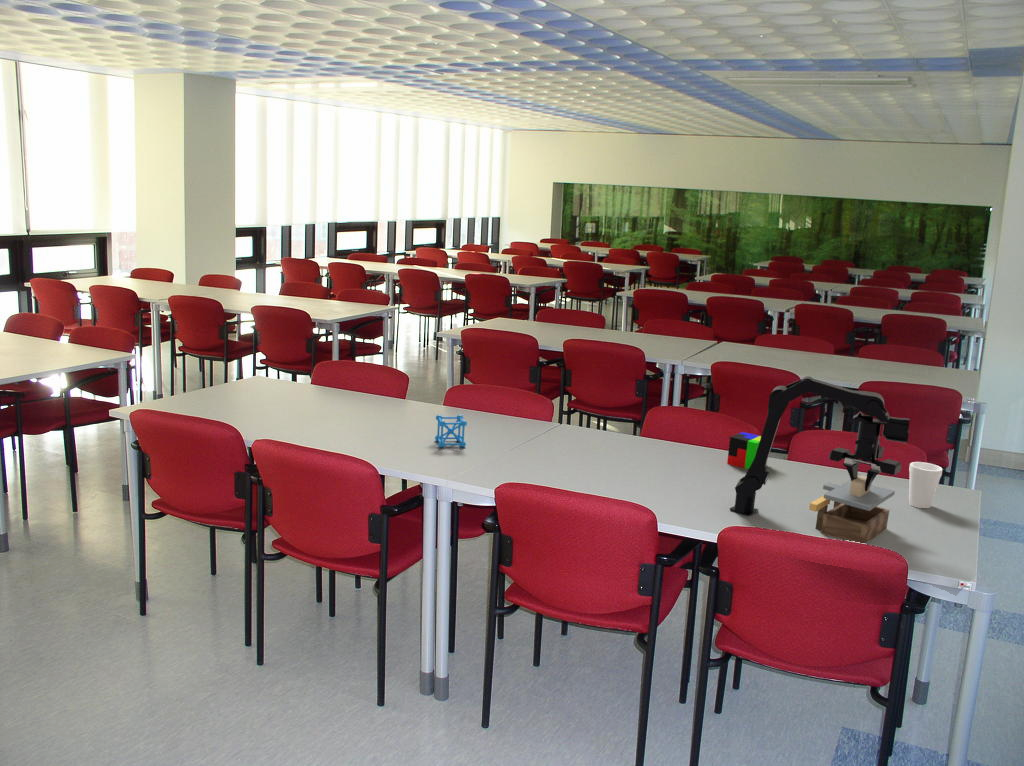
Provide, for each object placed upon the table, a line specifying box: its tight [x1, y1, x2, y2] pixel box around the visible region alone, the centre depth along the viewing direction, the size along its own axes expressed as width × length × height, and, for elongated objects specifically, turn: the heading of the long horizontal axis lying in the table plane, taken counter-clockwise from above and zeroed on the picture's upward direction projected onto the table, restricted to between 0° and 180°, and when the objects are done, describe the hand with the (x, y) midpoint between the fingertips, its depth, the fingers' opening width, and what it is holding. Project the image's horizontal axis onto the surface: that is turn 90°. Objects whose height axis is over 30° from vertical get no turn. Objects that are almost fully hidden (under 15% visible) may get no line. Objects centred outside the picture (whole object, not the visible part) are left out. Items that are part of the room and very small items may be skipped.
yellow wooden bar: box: [808, 495, 831, 512], centre depth 259 cm, size 10×2×2 cm, turn 139°
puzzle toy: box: [726, 431, 762, 470], centre depth 320 cm, size 10×10×10 cm
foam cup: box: [908, 461, 943, 509], centre depth 287 cm, size 10×9×13 cm
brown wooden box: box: [815, 501, 890, 544], centre depth 263 cm, size 19×15×7 cm
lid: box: [822, 475, 896, 511], centre depth 261 cm, size 20×16×5 cm
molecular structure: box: [434, 414, 468, 449], centre depth 324 cm, size 10×10×10 cm
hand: (860, 489), depth 260 cm, fingers closed on lid, 3 cm apart
